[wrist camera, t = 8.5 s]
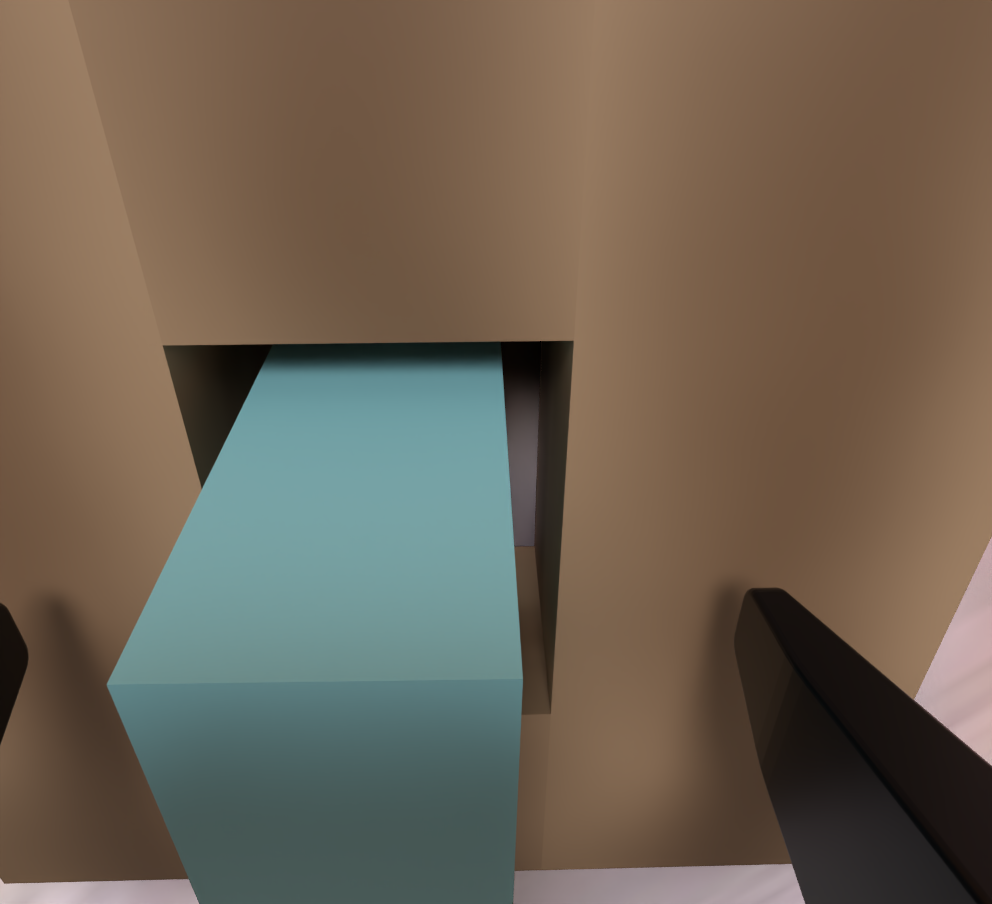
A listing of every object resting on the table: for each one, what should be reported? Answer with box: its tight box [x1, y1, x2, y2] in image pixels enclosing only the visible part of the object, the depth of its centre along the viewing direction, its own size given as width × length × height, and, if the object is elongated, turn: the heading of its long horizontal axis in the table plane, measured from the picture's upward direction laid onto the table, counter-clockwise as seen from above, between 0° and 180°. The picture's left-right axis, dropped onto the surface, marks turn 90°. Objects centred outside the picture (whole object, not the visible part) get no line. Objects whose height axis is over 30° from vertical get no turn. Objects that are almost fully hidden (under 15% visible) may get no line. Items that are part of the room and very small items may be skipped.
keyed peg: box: [107, 341, 523, 904], centre depth 10 cm, size 3×5×8 cm, turn 0°
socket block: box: [0, 0, 992, 884], centre depth 12 cm, size 16×16×4 cm
